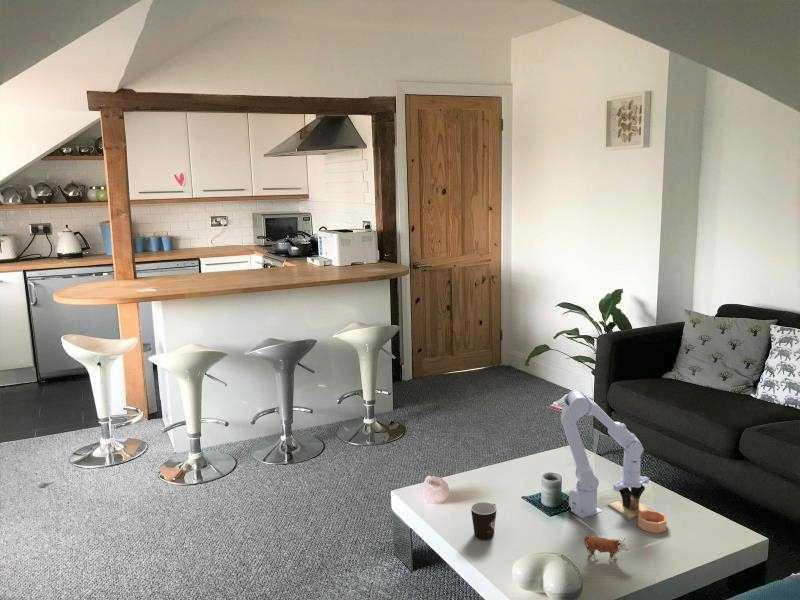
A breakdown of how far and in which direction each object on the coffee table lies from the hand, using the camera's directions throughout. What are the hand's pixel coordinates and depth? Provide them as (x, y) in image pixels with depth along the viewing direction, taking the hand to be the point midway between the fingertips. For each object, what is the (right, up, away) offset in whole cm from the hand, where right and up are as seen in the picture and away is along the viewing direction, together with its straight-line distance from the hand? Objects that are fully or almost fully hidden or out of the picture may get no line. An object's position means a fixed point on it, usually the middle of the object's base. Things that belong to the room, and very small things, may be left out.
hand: (630, 505), depth 241 cm
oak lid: (0, -1, 0) cm, 1 cm away
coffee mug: (-53, -6, -13) cm, 55 cm away
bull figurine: (-18, -8, -30) cm, 36 cm away
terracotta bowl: (+3, -4, -12) cm, 13 cm away
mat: (0, -2, 0) cm, 2 cm away
